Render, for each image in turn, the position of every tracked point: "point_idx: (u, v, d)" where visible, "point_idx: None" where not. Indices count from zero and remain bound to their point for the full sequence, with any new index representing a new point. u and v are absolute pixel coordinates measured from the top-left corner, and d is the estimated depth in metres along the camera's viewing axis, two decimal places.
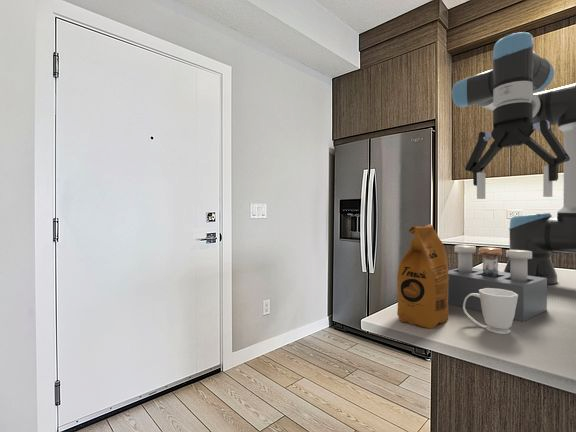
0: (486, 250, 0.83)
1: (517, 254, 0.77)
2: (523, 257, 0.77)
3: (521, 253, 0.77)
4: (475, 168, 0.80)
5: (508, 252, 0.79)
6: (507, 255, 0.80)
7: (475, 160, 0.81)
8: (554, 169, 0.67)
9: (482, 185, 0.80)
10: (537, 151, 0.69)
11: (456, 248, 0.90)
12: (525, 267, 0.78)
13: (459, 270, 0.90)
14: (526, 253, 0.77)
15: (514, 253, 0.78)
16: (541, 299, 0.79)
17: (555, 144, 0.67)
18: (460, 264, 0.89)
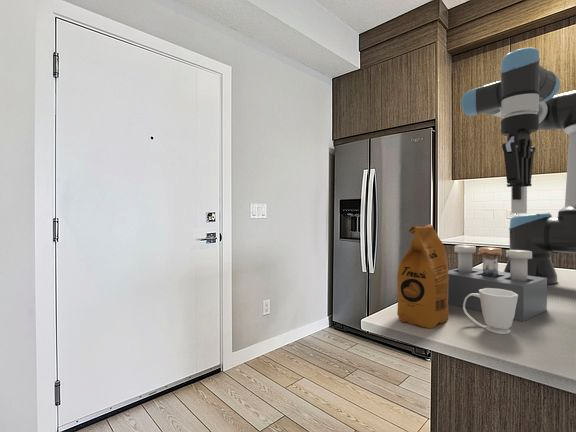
0: (486, 250, 0.83)
1: (517, 254, 0.77)
2: (523, 257, 0.77)
3: (521, 253, 0.77)
4: None
5: (508, 252, 0.79)
6: (507, 255, 0.80)
7: None
8: None
9: (518, 200, 0.79)
10: None
11: (456, 248, 0.90)
12: (525, 267, 0.78)
13: (459, 270, 0.90)
14: (526, 253, 0.77)
15: (514, 253, 0.78)
16: (541, 299, 0.79)
17: None
18: (460, 264, 0.89)
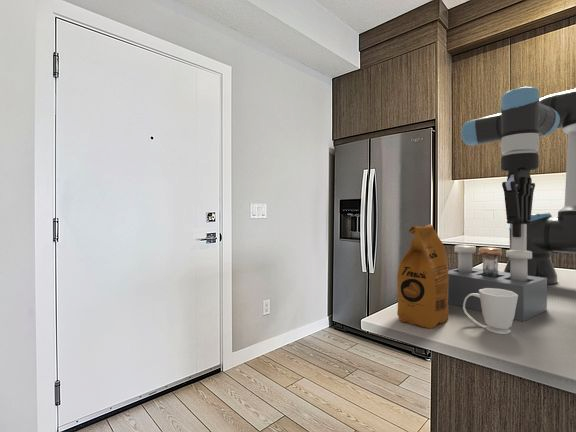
0: (486, 250, 0.83)
1: (517, 254, 0.77)
2: (523, 257, 0.77)
3: (521, 253, 0.77)
4: None
5: (508, 252, 0.79)
6: (507, 255, 0.80)
7: None
8: None
9: (518, 237, 0.79)
10: None
11: (456, 248, 0.90)
12: (525, 267, 0.78)
13: (459, 270, 0.90)
14: (526, 253, 0.77)
15: (514, 253, 0.78)
16: (541, 299, 0.79)
17: None
18: (460, 264, 0.89)
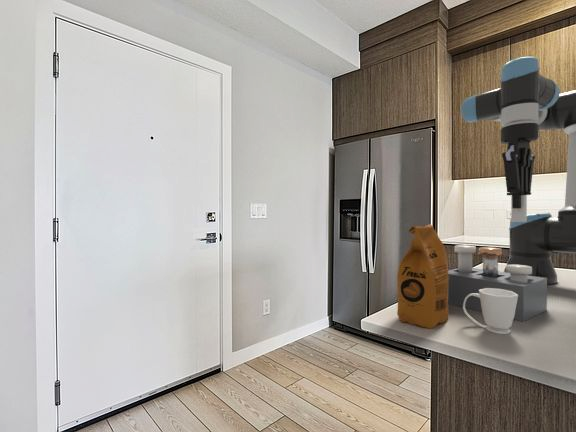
0: (486, 250, 0.83)
1: (517, 270, 0.77)
2: (523, 273, 0.77)
3: (521, 269, 0.77)
4: None
5: (508, 267, 0.79)
6: (507, 270, 0.80)
7: None
8: None
9: None
10: None
11: (456, 248, 0.90)
12: (525, 282, 0.78)
13: (459, 270, 0.90)
14: (526, 269, 0.77)
15: (514, 268, 0.78)
16: (541, 299, 0.79)
17: None
18: (460, 264, 0.89)
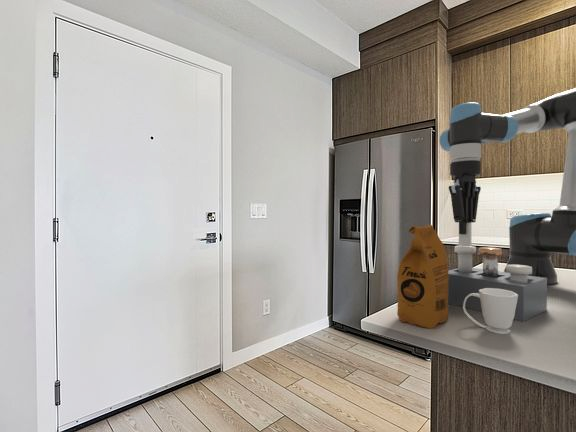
0: (486, 250, 0.83)
1: (517, 270, 0.77)
2: (523, 273, 0.77)
3: (521, 269, 0.77)
4: None
5: (508, 267, 0.79)
6: (507, 270, 0.80)
7: None
8: None
9: None
10: None
11: (456, 248, 0.90)
12: (525, 282, 0.78)
13: (459, 270, 0.90)
14: (526, 269, 0.77)
15: (514, 268, 0.78)
16: (541, 299, 0.79)
17: None
18: (460, 264, 0.89)
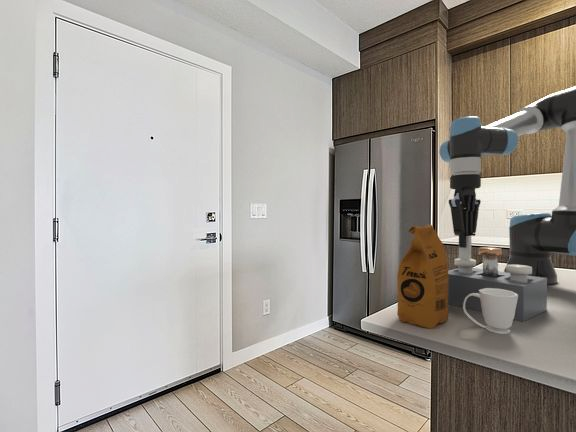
0: (486, 250, 0.83)
1: (517, 270, 0.77)
2: (523, 273, 0.77)
3: (521, 269, 0.77)
4: None
5: (508, 267, 0.79)
6: (507, 270, 0.80)
7: None
8: None
9: None
10: None
11: (456, 261, 0.90)
12: (525, 282, 0.78)
13: None
14: (526, 269, 0.77)
15: (514, 268, 0.78)
16: (541, 299, 0.79)
17: None
18: None
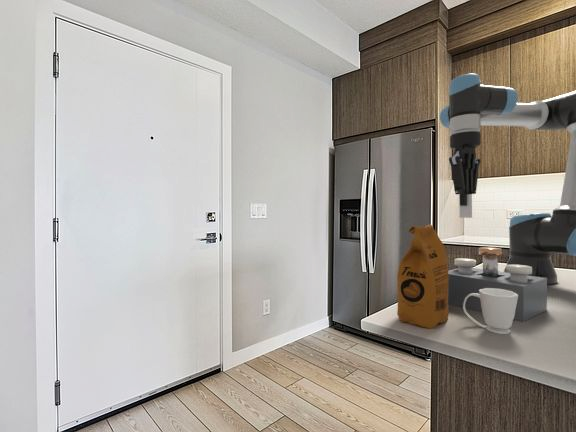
0: (486, 250, 0.83)
1: (517, 270, 0.77)
2: (523, 273, 0.77)
3: (521, 269, 0.77)
4: None
5: (508, 267, 0.79)
6: (507, 270, 0.80)
7: None
8: None
9: (465, 206, 0.90)
10: None
11: (456, 261, 0.90)
12: (525, 282, 0.78)
13: None
14: (526, 269, 0.77)
15: (514, 268, 0.78)
16: (541, 299, 0.79)
17: None
18: None
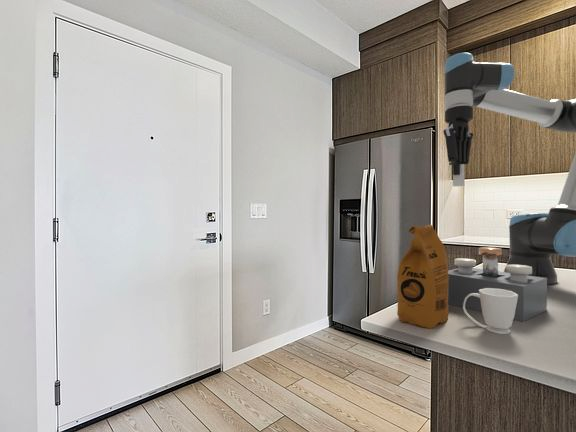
0: (486, 250, 0.83)
1: (517, 270, 0.77)
2: (523, 273, 0.77)
3: (521, 269, 0.77)
4: None
5: (508, 267, 0.79)
6: (507, 270, 0.80)
7: None
8: None
9: None
10: None
11: (456, 261, 0.90)
12: (525, 282, 0.78)
13: None
14: (526, 269, 0.77)
15: (514, 268, 0.78)
16: (541, 299, 0.79)
17: None
18: None
